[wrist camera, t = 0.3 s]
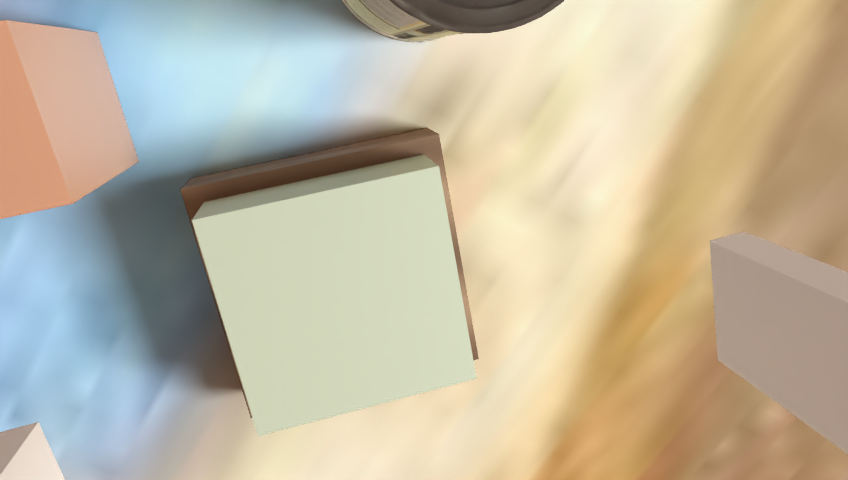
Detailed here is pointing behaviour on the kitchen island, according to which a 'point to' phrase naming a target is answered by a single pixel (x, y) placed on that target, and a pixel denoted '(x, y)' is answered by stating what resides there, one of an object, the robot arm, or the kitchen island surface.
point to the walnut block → (324, 165)
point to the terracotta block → (56, 118)
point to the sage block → (338, 291)
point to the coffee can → (445, 16)
